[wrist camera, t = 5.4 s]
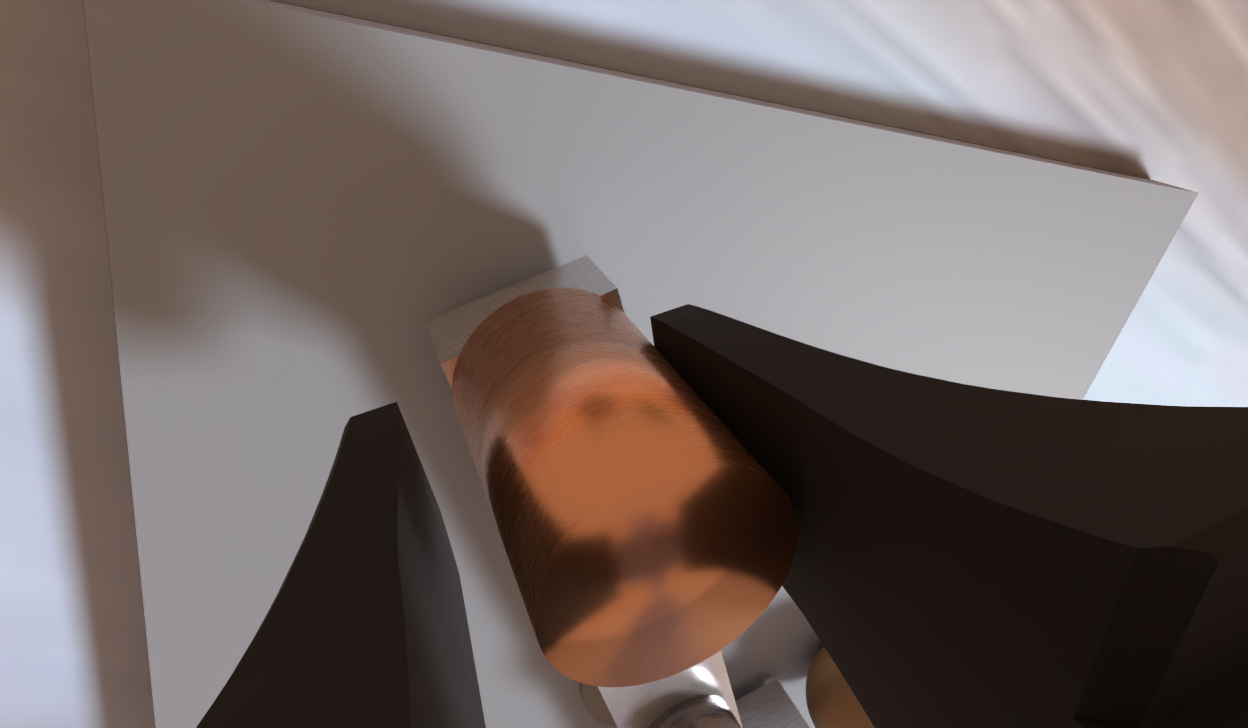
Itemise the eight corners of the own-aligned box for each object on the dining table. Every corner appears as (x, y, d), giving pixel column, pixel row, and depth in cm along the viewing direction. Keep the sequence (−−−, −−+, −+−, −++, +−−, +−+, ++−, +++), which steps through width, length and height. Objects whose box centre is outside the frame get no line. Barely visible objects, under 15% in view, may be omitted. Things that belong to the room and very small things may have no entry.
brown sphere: (856, 678, 24) (935, 780, 21) (767, 699, 22) (838, 812, 19) (897, 597, 22) (987, 695, 19) (804, 613, 21) (888, 723, 18)
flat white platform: (889, 676, 27) (979, 786, 24) (179, 846, 17) (151, 1078, 14) (1152, 180, 19) (1347, 234, 16) (101, -34, 9) (-14, -18, 6)
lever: (785, 719, 22) (921, 932, 17) (650, 796, 21) (755, 1042, 17) (671, 184, 12) (928, 347, 7) (404, 292, 11) (491, 559, 6)
